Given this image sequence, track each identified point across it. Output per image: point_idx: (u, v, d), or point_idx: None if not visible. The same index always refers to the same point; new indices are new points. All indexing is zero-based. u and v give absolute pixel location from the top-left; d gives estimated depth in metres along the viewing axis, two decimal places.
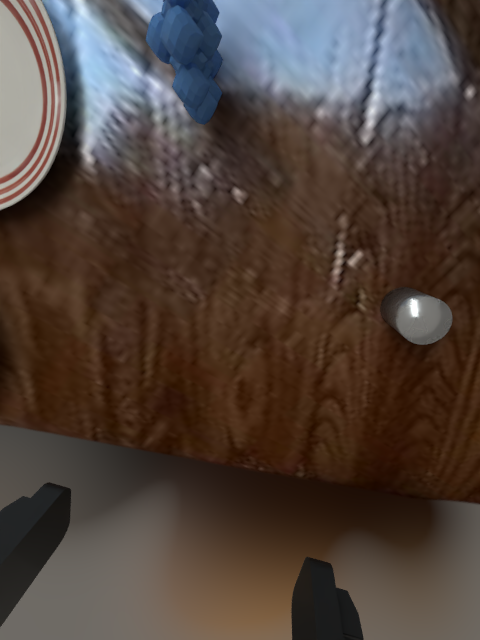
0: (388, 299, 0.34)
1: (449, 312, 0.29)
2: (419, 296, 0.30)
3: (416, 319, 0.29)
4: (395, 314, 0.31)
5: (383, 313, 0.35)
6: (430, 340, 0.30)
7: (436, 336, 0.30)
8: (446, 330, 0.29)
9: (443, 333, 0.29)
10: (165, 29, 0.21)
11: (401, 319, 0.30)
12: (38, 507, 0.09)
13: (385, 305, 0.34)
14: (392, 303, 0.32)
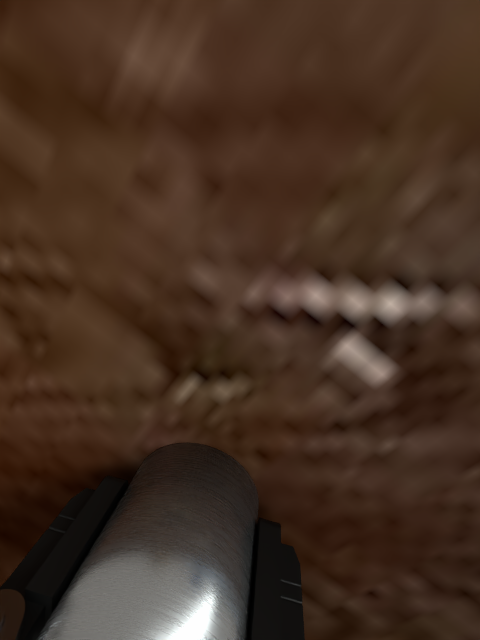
0: (217, 482, 0.09)
1: None
2: None
3: None
4: (141, 595, 0.06)
5: (166, 465, 0.10)
6: None
7: None
8: None
9: None
10: None
11: None
12: (105, 498, 0.09)
13: (194, 475, 0.09)
14: (201, 524, 0.08)
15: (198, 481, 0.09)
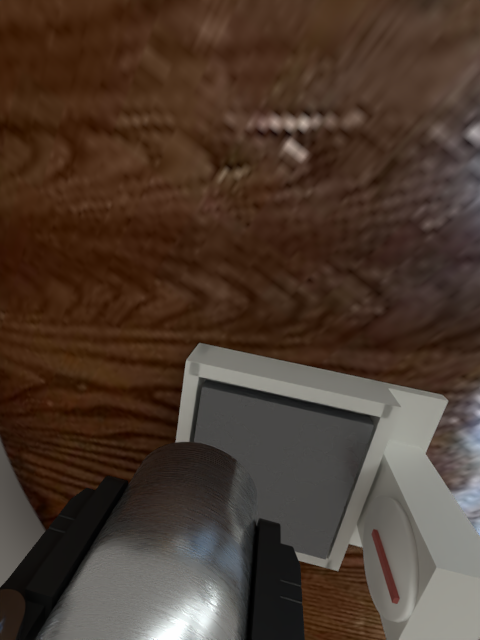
0: (217, 481, 0.09)
1: None
2: None
3: None
4: (140, 593, 0.06)
5: (166, 464, 0.10)
6: None
7: None
8: None
9: None
10: None
11: None
12: (104, 498, 0.09)
13: (194, 474, 0.09)
14: (201, 522, 0.08)
15: (198, 480, 0.09)
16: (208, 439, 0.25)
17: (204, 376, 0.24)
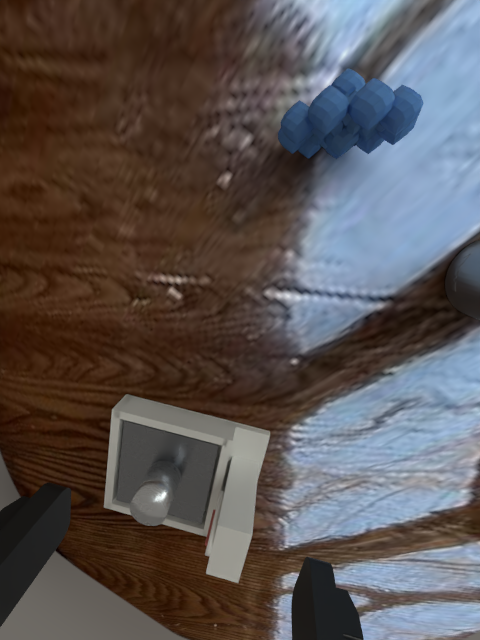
0: (168, 470, 0.41)
1: (156, 524, 0.38)
2: (167, 503, 0.38)
3: (148, 505, 0.37)
4: (152, 487, 0.38)
5: (157, 466, 0.42)
6: (133, 514, 0.38)
7: (137, 517, 0.38)
8: (142, 523, 0.38)
9: (140, 521, 0.38)
10: (329, 92, 0.22)
11: (147, 496, 0.37)
12: (38, 507, 0.09)
13: (163, 468, 0.41)
14: (164, 478, 0.40)
15: (164, 469, 0.41)
16: (129, 450, 0.43)
17: (123, 418, 0.41)
